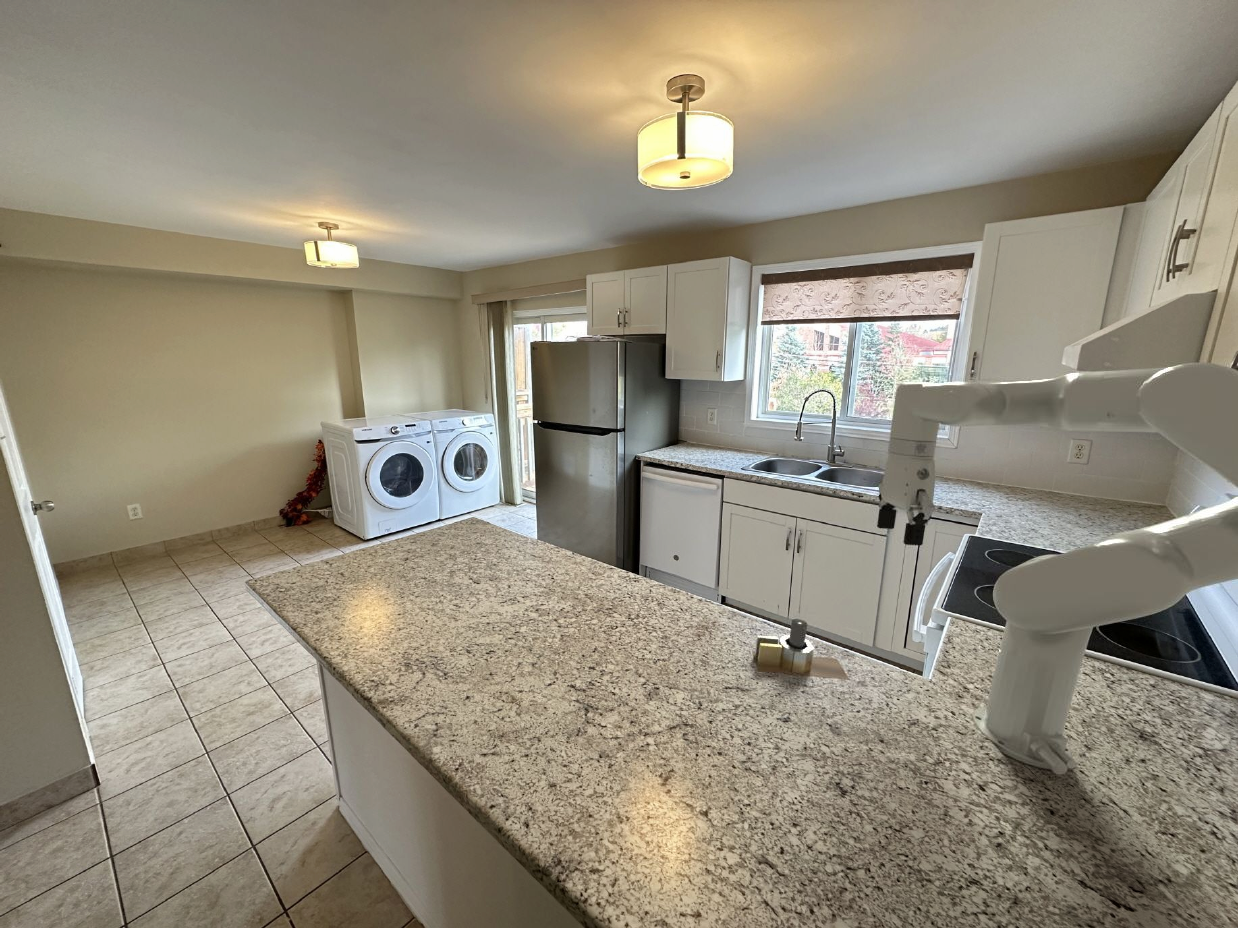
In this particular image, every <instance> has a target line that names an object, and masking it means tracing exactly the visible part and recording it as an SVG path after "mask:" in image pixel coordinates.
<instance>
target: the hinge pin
mask: <svg viewBox="0 0 1238 928" xmlns="http://www.w3.org/2000/svg"><path fill="white" fill-rule="evenodd" d="M790 626H791V627H790V632H789V633H790V634H789V635H790V639H789V646H790V647H792V648H794V649H801V650H804V644H805V639H806V636H807V630H808V629H807V628H808V623H807V622H806V621H805V620H804V619H800V618H794V619H792V620H791V624H790Z"/></svg>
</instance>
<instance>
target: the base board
mask: <svg viewBox="0 0 1238 928" xmlns="http://www.w3.org/2000/svg"><path fill="white" fill-rule="evenodd" d="M751 653H752V656H753V659H754V662H755V665H756V668H757V671H758V672H764V673H773V674H774V673H775V674H784V675H785V674H787V675H795V676H805V677H819V678H829V679H840V680H850V678H849V676H848V674H847V673H846V670H845V669H844V668H843V667H842V665H841V663H840V661H839V660H838V658H832V657H823V656H813V657H812V664H811V670H810V671H808V672H807V673H806V674H797V673H792V672H791V673H790V672H789V671H787V670H785V669H783V668H781V667H780V666H779V668H772V667H761V666H758V658H755V651H753V650H752V651H751Z"/></svg>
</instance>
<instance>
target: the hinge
mask: <svg viewBox="0 0 1238 928" xmlns="http://www.w3.org/2000/svg"><path fill="white" fill-rule="evenodd" d="M789 639H790V634H784V635H783V636H781V637H780V638H779V637H778V636H770V635H759V634H757V635H756V641H755V642H756V643H755V649H754V650H755V658H758V666H761V667H772V668H779V666H780V667H781V668H783V669H785V670H787V671H789V672H790V673H791V672H792V673H797V674H806V673H807V672H808V671H810V670H811V664H812V657H814V651H815V648H814V646H813V644H812V642H811V641H810V640H809V639H806V638H805V644H804V650H801V649H794V648H792V647H790V646H789Z"/></svg>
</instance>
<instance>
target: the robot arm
mask: <svg viewBox="0 0 1238 928" xmlns="http://www.w3.org/2000/svg"><path fill="white" fill-rule="evenodd" d="M940 425H945V426H948V427H949V426H950V427H971V426H973V427H974V426H975V427H977V426H978V427H979V426H1026V427H1047V428H1054V429H1056V430H1057V429H1058V430H1061V431H1070V432H1071V431H1072V432H1119V433H1120V432H1123V433H1128V432H1129V433H1130V432H1131V433H1159V434H1160V435H1161V436H1163V437H1164V438H1165V439H1167V440H1168V441H1169V442H1170V443H1172V445H1175V446H1176V447H1177V448H1179V449H1180V450H1182V451H1183V452H1185V453H1186V454H1188V455H1189V456H1191V457H1192V458H1194V459H1195V460H1197V462H1200V463H1201V464H1203V465H1204V466H1206V467H1207V468H1208V469H1210V470H1212V471H1213V472H1214V473H1216V475H1217V474H1218V476H1220V477H1221V478H1223V479H1225V480H1226V481H1227V482H1229V483H1230V484H1232V485H1233V486H1235V487H1236V488H1238V370H1237V369H1234V368H1232V367H1229V366H1226V365H1222V364H1218V363H1217V364H1216V363H1213V362H1212V363H1211V362H1189V363H1188V362H1187V363H1181V364H1178V365H1174V366H1169V367H1155V368H1152V367H1151V368H1138V369H1122V370H1121V369H1120V370H1119V369H1118V370H1101V371H1099V370H1098V371H1083V372H1082V371H1081V372H1073V373H1067V374H1064V375H1061V376H1059V377H1056V378H1049V379H1041V380H1031V381H1029V380H1028V381H1027V380H1026V381H1012V382H1011V381H1009V382H1008V381H1007V382H979V381H977V382H973V381H971V382H970V381H951V382H943V383H938V382H937V383H936V382H931V381H930V382H928V381H927V382H926V381H907V382H906V381H905V382H901V383H900V384H898V386H897V388H896V392H895V397H894V403H893V411H892V418H891V425H890V432H889V433H890V434H889V441H888V448H887V455H888V456H887V460H886V464H885V468H884V472H883V477H882V482H880V483H879V484H878V501H879V503H878V508H879V510H878V516H877V524H876V527H877V528H878V529H883V530H884V529H886V530H888V529H889V530H893V529H895V524H896V518H897V513H898V511H897V510H898V509H899V510H902V511H904V512H905V513H906V516H907V520H908V522H905V523H906V524H905V529H904V536H903V544H904V545H906V546H922V545H923V544H924V538H925V531H926V526H927V525H928V524H929V521H930V520H931V519H932V515H933V514H934V512H935V510H936V505H935V503H934V497H935V488H936V486H935V485H936V462H935V459H934V458H935V453H936V447H937V441H938V439H937V438H938V433H939V427H940ZM896 508H897V509H896ZM915 514H916V515H915ZM1233 580H1238V495H1237V496H1235V497H1234V498H1232V499H1230V500H1227V501H1224V502H1221V503H1218V504H1215V505H1212V506H1209V507H1206V508H1203V509H1199V510H1197V511H1193V512H1192V513H1189V514H1185V515H1183V516H1180V517H1176V518H1173V519H1169V520H1167V521H1162V522H1159V523H1157V524H1152V525H1149V526H1145V527H1142V528H1137V529H1133V530H1126V531H1122V532H1118V533H1115V534H1113V535H1110V536H1108V537H1106V538H1103V539H1101V540H1099V541H1097V542H1094V543H1091V544H1088V545H1086V546H1085V545H1084V546H1082V547H1080V548H1076V549H1073V550H1070V551H1067V552H1064V553H1061V554H1045V555H1039V556H1036V557H1034V558H1030V559H1028V560H1027V561H1025V562H1022V563H1021V564H1019V565H1017V566H1014V567H1012V568H1010V569H1008V570H1006V571H1005V572H1004V573H1003V574H1002V575H1000V576H999V577H998V579H997V580H996V582H995V584H994V587H993V591H992V597H993V598H992V600H993V603H994V606H995V608H996V610H997V612H998V613H999V614H1000V616H1002V618H1004V619H1005V621H1006V622H1005V627H1004V629H1003V634H1002V639H1001V641H1000V646H999V651H998V655H997V659H996V663H995V668H994V672H993V677H992V681H991V685H990V690H989V695H988V698H987V704H986V706H983V707H981V706H980V707H979V708H976V709H975V710H974V711H973V713H972V715H971V721H972V722H973V724H974V725H975V727H976V728H977V730H978V731H979V732H980V733H982V734H983V736H984V737H985V738H986V739H988V741H989V742H990V743H992V744H993V745H994V747H995V748H996V749H997V750H998V751H999V752H1000V753H1003V754H1004V755H1006V756H1008V757H1010V758H1012V759H1014V760H1016V761H1018V762H1021V763H1024V764H1026V765H1029V766H1033V767H1037V768H1040V769H1045V770H1051V771H1052V772H1053V774H1056V775H1059V776H1061V775H1064V774H1066V773H1067V772H1068V769H1074V768H1076V767H1077V765H1078V763H1077V761H1076V760H1074V758H1072V755H1073V754H1072V750H1071V749H1070V747H1069V746H1068V744H1067V743H1068V738H1067V737H1065V735H1063V734H1064V732H1065V731H1064V730H1065V726H1066V723H1067V719H1068V715H1069V711H1070V708H1071V704H1072V701H1073V697H1074V694H1075V693H1074V692H1075V690H1076V685H1077V682H1078V678H1079V674H1080V672H1081V668H1082V664H1083V661H1084V657H1085V655H1086V651H1087V648H1088V644H1089V640H1090V637H1091V634H1092V632H1093V628H1094V627H1095V628H1096V627H1100V626H1105V625H1110V624H1114V623H1119V622H1124V621H1125V622H1126V621H1129V620H1136V619H1138V618H1143V617H1147V616H1150V615H1154V614H1156V613H1160V612H1162V611H1165V610H1167V609H1169V608H1170V607H1171V608H1172V607H1173V606H1174V605H1176V604H1177V603H1178V602H1179V601H1181V600H1182V599H1183V597H1185V596H1186V595H1187V594H1189V593H1191V592H1193V591H1196V590H1198V589H1201V588H1205V587H1209V586H1212V585H1213V586H1214V585H1216V584H1221V583H1225V582H1226V583H1227V582H1229V581H1233Z"/></svg>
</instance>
